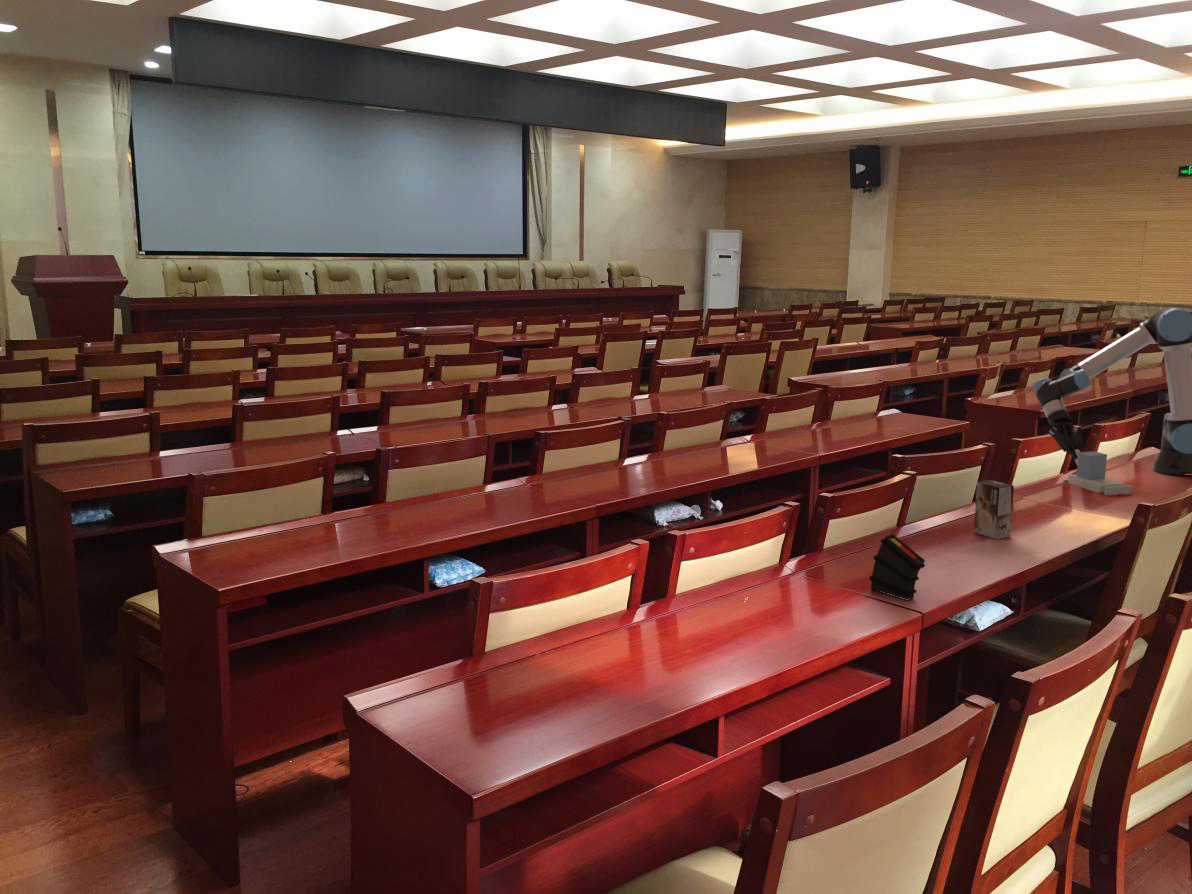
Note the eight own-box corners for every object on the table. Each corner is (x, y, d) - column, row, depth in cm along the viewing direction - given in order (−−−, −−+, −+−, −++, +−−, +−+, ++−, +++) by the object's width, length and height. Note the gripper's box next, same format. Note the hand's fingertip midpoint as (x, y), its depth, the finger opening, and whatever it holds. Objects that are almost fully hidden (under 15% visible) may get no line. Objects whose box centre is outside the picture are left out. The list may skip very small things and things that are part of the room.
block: (1093, 475, 356) (1095, 451, 354) (1104, 478, 350) (1107, 454, 348) (1076, 476, 355) (1078, 452, 353) (1088, 479, 349) (1090, 455, 347)
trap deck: (1086, 479, 362) (1087, 472, 361) (1130, 493, 340) (1131, 485, 340) (1063, 481, 360) (1064, 473, 359) (1106, 495, 338) (1106, 487, 338)
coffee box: (1011, 537, 290) (1015, 485, 287) (995, 539, 287) (1000, 487, 284) (987, 529, 298) (991, 479, 295) (972, 532, 295) (976, 481, 292)
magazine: (868, 577, 249) (892, 532, 242) (906, 611, 241) (933, 565, 234) (859, 580, 247) (883, 535, 240) (897, 614, 239) (924, 569, 232)
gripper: (1066, 419, 373) (1092, 470, 360) (1036, 420, 370) (1061, 472, 358) (1077, 408, 367) (1103, 459, 354) (1046, 409, 364) (1072, 461, 351)
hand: (1082, 466), depth 356 cm, fingers closed
